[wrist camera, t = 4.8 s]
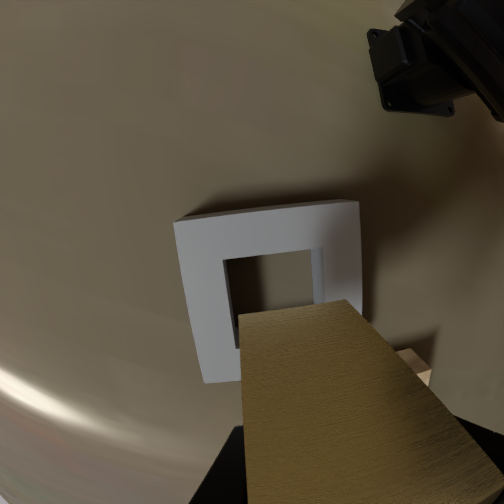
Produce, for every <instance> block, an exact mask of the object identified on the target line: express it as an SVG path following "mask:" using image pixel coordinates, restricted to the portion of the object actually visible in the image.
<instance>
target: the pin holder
mask: <svg viewBox="0 0 504 504" xmlns="http://www.w3.org/2000/svg"><path fill="white" fill-rule="evenodd" d="M173 224H174V231H175V238H176V244H177V250H178V256H179V262H180V268H181V274H182V280H183V285H184V291H185V296H186V301H187V307H188V312H189V317H190V322H191V327H192V331H193V336H194V341H195V345H196V350H197V355H198V359H199V363H200V368H201V372H202V376H203V380H204V384H205V383H217V382H228V381H238V380H241V366H240V344H239V327H235V321H234V314H233V308H232V301H231V294H230V287H229V280H228V273H227V266H226V259H233V258H241V257H249V256H257V255H265V254H273V253H282V252H290V251H298V250H306V249H310V250H311V264H312V280H313V298H314V304H319V303H325V302H331V301H337V300H343V299H346V300H347V301H348V302H349V303H350V304H351V305H352V306H353V307H354V308H355V309H356V310H357V311H358V312H359V313H360V314H361V315H362V250H361V228H360V211H359V201H353V200H346V199H334V200H323V201H312V202H302V203H292V204H283V205H273V206H264V207H256V208H247V209H239V210H231V211H223V212H215V213H207V214H200V215H192V216H185V217H182V218H180V219H178V220H176V221H175V222H173Z"/></svg>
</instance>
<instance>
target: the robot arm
mask: <svg viewBox="0 0 504 504" xmlns="http://www.w3.org/2000/svg"><path fill="white" fill-rule="evenodd" d="M394 16H395V17H396V18H397V19H398V20H400V21H401V22H402V21H403V23H402V24H400V25H399V26H394V27H393V28H392V29H390V30H389V31H386V30H380V29H370V30H369V31H368V32H367V38H368V42H369V46H370V49H369V54H370V58H371V62H372V67H373V71H374V76H375V80H376V81H377V83H378V87H379V92H380V97H381V103H382V107H383V108H384V110H386V111H388V112H401V113H414V114H425V115H435V116H444V117H451V116H453V115H454V113H455V110H454V105H453V100H454V99H458V98H461V97H464V96H467V95H471V94H474V93H476V94H477V95H478V96H479V97H480V98H481V100H482V101H483V102H484V103H485V105H486V106H487V107H488V108H489V110H490V111H491V114H492V116H493V117H494V118H495V120H496V121H499V122H503V123H504V0H405V2H404V3H403V4H402V6H401V7H400V8H399V10H398V11H397V12H396V14H395V15H394ZM372 34H374V35H375V36H376V37H374V36H373V35H372ZM387 102H390V103H391V107H389V106H388V104H387ZM448 109H449V112H448ZM453 416H454V417H455V418H456V419H457V420H458V422H459V423H460V424H461V425H462V426H463V427H464V428H465V430H466V431H467V432H468V433H469V434H470V435H471V437H472V438H473V439H474V440H475V441H476V443H477V444H478V445H479V446H480V447H481V448H482V450H483V451H484V452H485V453H486V454H487V456H488V457H489V458H490V459H491V460H492V462H493V463H494V464H495V465H496V467H497V468H498V469H499V470H500V471H501V473H502V474H503V475H504V435H502V434H499V433H497V432H493V431H491V430H489V429H486V428H484V427H481V426H479V425H476V424H474V423H471V422H469V421H467V420H464V419H462V418H459V417H457V416H455V415H453ZM188 504H248V492H247V477H246V461H245V444H244V426H243V425H241V426H235V427H234V428H233V430H232V432H231V434H230V435H229V437H228V439H227V441H226V442H225V444H224V446H223V448H222V449H221V451H220V453H219V454H218V456H217V458H216V459H215V461H214V463H213V465H212V466H211V468H210V470H209V471H208V473H207V474H206V476H205V478H204V479H203V481H202V483H201V484H200V486H199V488H198V489H197V491H196V492H195V494H194V495H193V497H192V499H191V500H190V502H189V503H188ZM492 504H504V489H503V491H502V492H501V493H500V495H499V496H498V497H497V498H496V500H495V501H494V502H493V503H492Z"/></svg>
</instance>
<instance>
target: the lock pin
mask: <svg viewBox="0 0 504 504" xmlns="http://www.w3.org/2000/svg"><path fill="white" fill-rule="evenodd" d="M238 320H239V344H240V366H241V387H242V407H243V426H244V444H245V461H246V477H247V492H248V504H492V503H493V502H494V501H495V500H496V498H497V497H498V496H499V495H500V493H501V492H502V491H503V489H504V475H503V474H502V473H501V471H500V470H499V469H498V468H497V467H496V465H495V464H494V463H493V462H492V460H491V459H490V458H489V457H488V456H487V454H486V453H485V452H484V451H483V450H482V448H481V447H480V446H479V445H478V444H477V443H476V441H475V440H474V439H473V438H472V437H471V435H470V434H469V433H468V432H467V431H466V430H465V428H464V427H463V426H462V425H461V424H460V423H459V422H458V420H457V419H456V418H455V417H454V416H453V415H452V413H451V412H450V411H449V410H448V409H447V408H446V407H445V405H444V404H443V403H442V402H441V401H440V400H439V399H438V398H437V396H436V395H435V394H434V393H433V392H432V391H431V390H430V389H429V388H428V386H427V385H426V384H425V383H424V382H423V381H422V380H421V379H420V378H419V376H418V375H417V374H416V373H415V372H414V371H413V370H412V369H411V368H410V367H409V365H408V364H407V363H406V362H405V361H404V360H403V359H402V358H401V357H400V356H399V355H398V354H397V352H396V351H395V350H394V349H393V348H392V347H391V346H390V345H389V344H388V343H387V342H386V341H385V340H384V339H383V337H382V336H381V335H380V334H379V333H378V332H377V331H376V330H375V329H374V328H373V327H372V326H371V325H370V324H369V323H368V322H367V321H366V319H365V318H364V317H363V316H362V315H361V314H360V313H359V312H358V311H357V310H356V309H355V308H354V307H353V306H352V305H351V304H350V303H349V302H348V301H347V300H346V299H343V300H337V301H331V302H325V303H319V304H313V305H306V306H300V307H293V308H286V309H279V310H272V311H264V312H257V313H249V314H241V315H238Z"/></svg>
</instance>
